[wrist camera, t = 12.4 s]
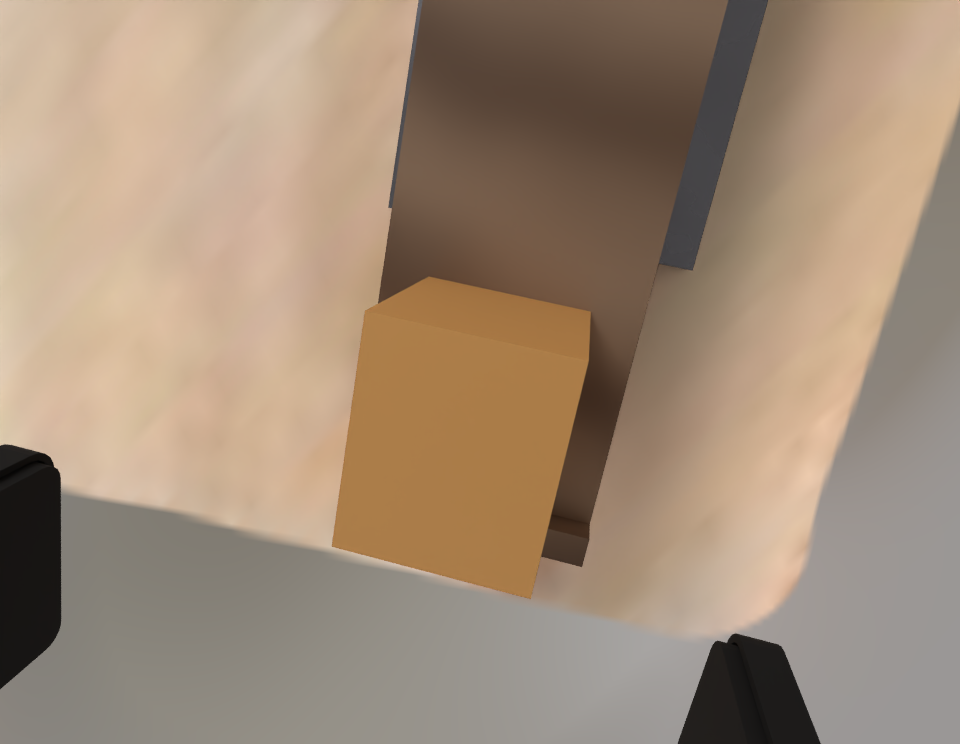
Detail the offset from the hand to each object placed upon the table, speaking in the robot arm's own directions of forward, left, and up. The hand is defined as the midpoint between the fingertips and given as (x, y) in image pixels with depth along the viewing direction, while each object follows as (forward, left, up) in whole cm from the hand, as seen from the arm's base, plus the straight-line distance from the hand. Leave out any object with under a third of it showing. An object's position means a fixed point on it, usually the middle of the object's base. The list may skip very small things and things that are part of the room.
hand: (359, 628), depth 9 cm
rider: (0, 0, -13) cm, 13 cm away
